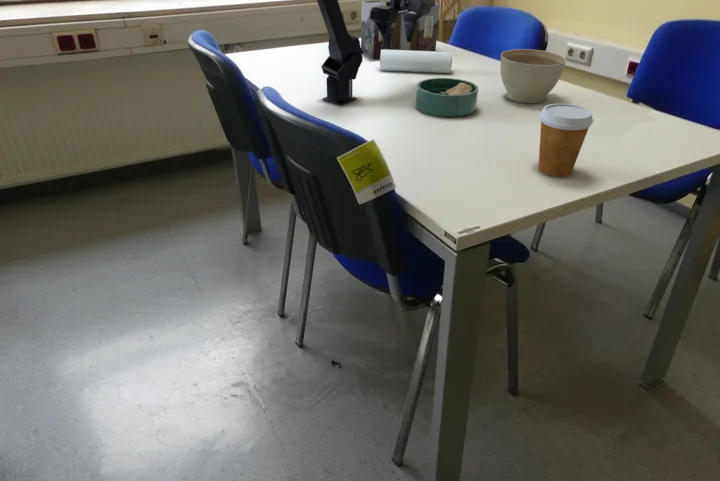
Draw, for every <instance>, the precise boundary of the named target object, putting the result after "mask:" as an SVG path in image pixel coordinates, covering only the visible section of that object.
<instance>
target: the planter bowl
mask: <svg viewBox="0 0 720 481" xmlns="http://www.w3.org/2000/svg"><path fill="white" fill-rule="evenodd" d="M566 62H567V59H566V57H565V56H563V55H560V54H558V53H555V52H551V51H546V50H542V49H541V50H539V49H530V48H529V49H528V48H516V49H509V50H508V49H507V50H505V51H502V52H501V54H500V77H501V81H502V84H503V86H504V88H505V90H506V93H507V94H506V95H507V96H506V97H508V98H509V99H510V100H512V101H515V102H517V103H522V104H523V103H525V104H537V103H542V102H544V101H545V99H546V96H547V95H548V94H550V92H551V91H552V90H553V89H554V88H555V87H556V85H557V84H558V82H559V81H560V78H561V76H562V74H563V71H564V67H565V65H566Z"/></svg>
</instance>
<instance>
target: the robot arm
mask: <svg viewBox="0 0 720 481" xmlns="http://www.w3.org/2000/svg"><path fill="white" fill-rule="evenodd" d="M316 2H317V5H318V7H319V11H320V13H321V16H322V19H323V22H324V26H325V28H326V31H327V34H328V46H327V49H328V54H329V55H328V57H327V58H326V59H325V61H324V62H323V63H322V64H321V70H322V73H323V75H327V77H326V96H325V97H323V98H322V101H323V102H326V103H331V104H334V105H336V106H337V105H338V106H343V105H346V104H348V103H351V102H354V101H357V97H356V96H353V80H356V79H357V76H358V73H359V69H360V67H361V66H362V64H363V59H364V58H363V55H362V54H364V52H363V51H362V49H361V40H360V38H359V37H358V36H354V35H353V34H350V33H349V31H348V28H347V25H346V22H345V19H344V16H343V12H342V9H341V6H340V3H339V0H316ZM435 2H436V0H390V1H389V0H388V1H386V2H385V3H386V6H382V5H381V6H376V7H373V8H372V9H371V10H370V19H373V22H375V23H376V25H377V27H378V29H379V31H380V33H381V35H382V38H383V40H384V43H385V45H386V47H387V48H391V44H392V35H393V27H394V26H395V25H396V24H397V23H398V21H395V20H396V19H397V17H398V14H402V13H403V20H404V27H405V34H406V39H407V42H411V41H412V38H413V35H414V32H415V30H416V27H417V24H418V22H419V20H421V19H422V18H423V17H424V16H426V14H429V13H430V10H431V7H434V6H435ZM398 10H399V11H398Z"/></svg>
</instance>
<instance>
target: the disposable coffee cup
mask: <svg viewBox="0 0 720 481" xmlns="http://www.w3.org/2000/svg"><path fill="white" fill-rule="evenodd" d="M539 118H540V135H539V151H538V167H537V168H538V171H539V172H541V173H542V174H543V175H547V176H550V177H555V178H557V177H558V178H565V177H569V176H570V175H572V174H573V170H574V167H575V165H576V163H577V160H578V157H579V154H580V152H581V149H582V147H583V144H584V142H585V139H586V137H587V135H588V131H589V128H591V126H592V124H593V123H594V119H593V112H592V111H591V109H589V108H586V107H584V106H581V105H578V104H577V105H576V104H571V103H550V104H546V105H545V106H543V109H542V111H541V112H540V113H539Z"/></svg>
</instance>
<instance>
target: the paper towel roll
mask: <svg viewBox="0 0 720 481" xmlns="http://www.w3.org/2000/svg"><path fill="white" fill-rule="evenodd" d="M452 55H453V52H452V51H437V50H436V51H410V50H383V49H382V50H381V55H380V60H379V69H380V70H379V71H383V72H385V71H387V72H405V73H406V72H408V73H409V72H411V73H432V74H450V73H451V69H452V65H453V57H452Z"/></svg>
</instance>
